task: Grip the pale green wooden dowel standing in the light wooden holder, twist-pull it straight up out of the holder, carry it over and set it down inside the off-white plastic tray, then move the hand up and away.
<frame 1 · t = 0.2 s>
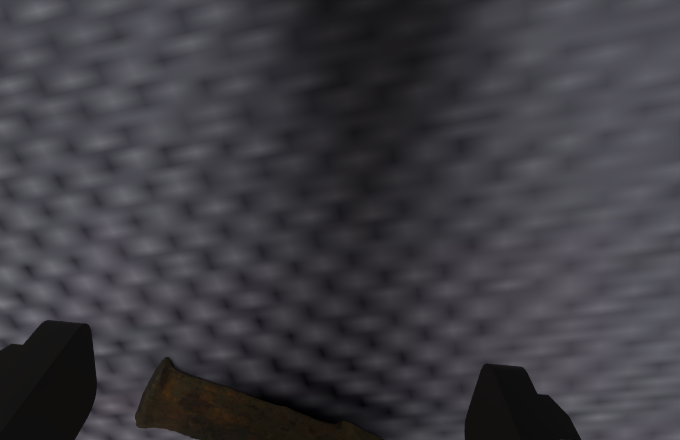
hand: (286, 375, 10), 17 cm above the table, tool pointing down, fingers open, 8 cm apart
hand tool: (288, 403, 36), on the table
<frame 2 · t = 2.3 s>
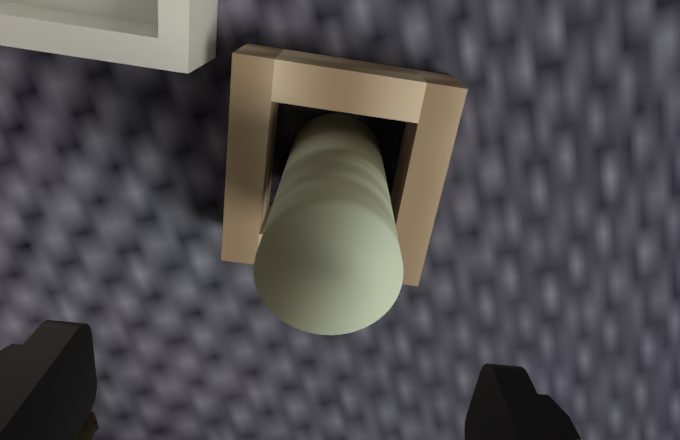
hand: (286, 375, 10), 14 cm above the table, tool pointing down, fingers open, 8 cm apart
dowel: (336, 157, 23), resting in holder
holder: (336, 157, 22), on the table
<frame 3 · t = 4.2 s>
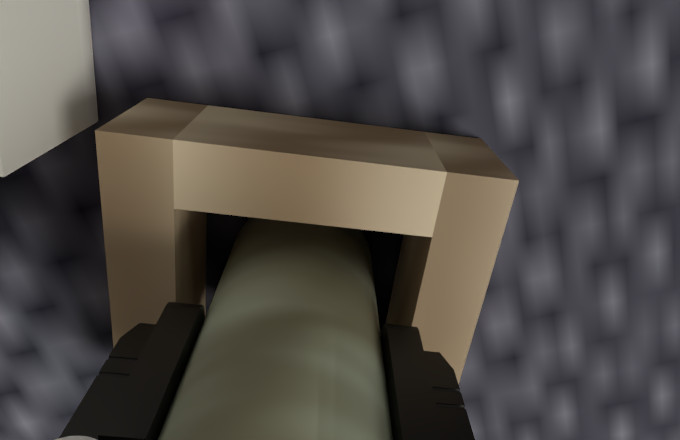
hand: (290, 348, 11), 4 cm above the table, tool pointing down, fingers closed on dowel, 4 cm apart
dowel: (302, 262, 15), resting in holder, touching gripper
holder: (302, 262, 15), on the table
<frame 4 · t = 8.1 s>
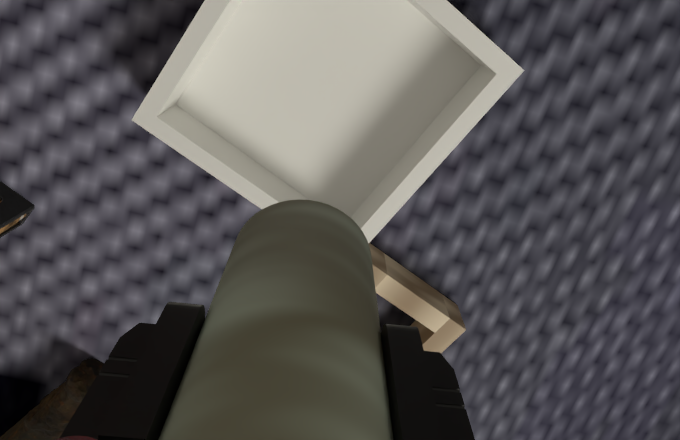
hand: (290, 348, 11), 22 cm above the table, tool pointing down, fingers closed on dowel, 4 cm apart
dowel: (302, 263, 15), point 19 cm above the table, touching gripper
hand tool: (46, 422, 43), on the table
holder: (375, 313, 37), on the table
tray: (325, 83, 31), on the table
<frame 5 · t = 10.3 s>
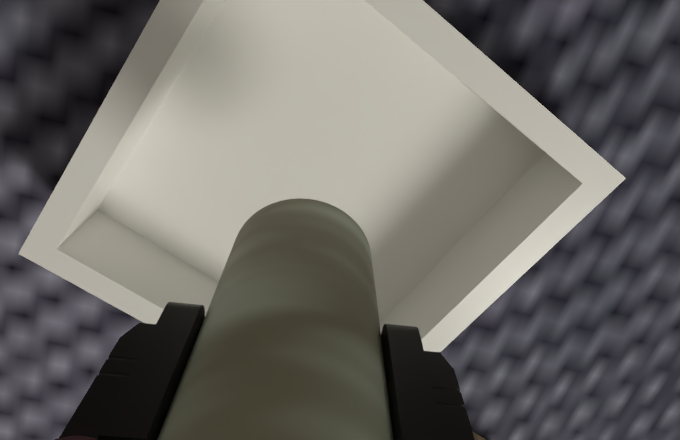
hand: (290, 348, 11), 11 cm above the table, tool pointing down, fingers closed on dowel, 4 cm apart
dowel: (302, 262, 15), point 7 cm above the table, touching gripper
tray: (316, 176, 21), on the table
when the fingers open (6 cm above the table, at t = 12.1 s): dowel drops 1 cm, resting on tray.
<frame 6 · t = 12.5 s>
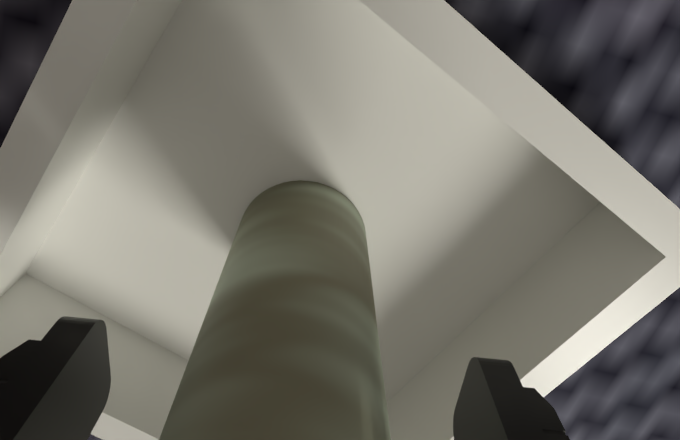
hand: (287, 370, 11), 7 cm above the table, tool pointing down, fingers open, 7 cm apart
dowel: (302, 239, 16), point 1 cm above the table, touching tray
tray: (305, 230, 16), on the table
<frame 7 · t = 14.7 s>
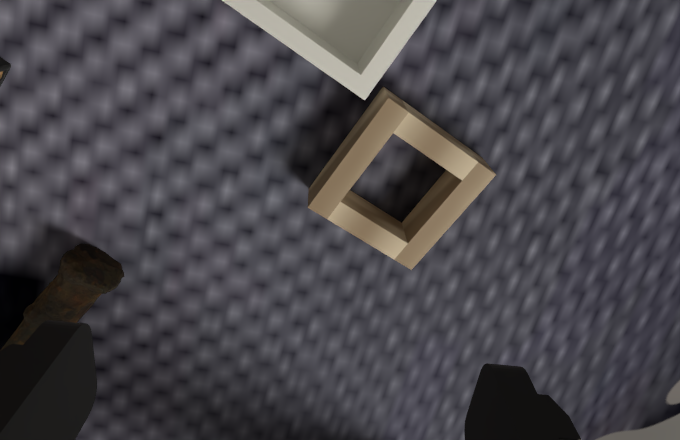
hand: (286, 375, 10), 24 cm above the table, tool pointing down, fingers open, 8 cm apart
hand tool: (51, 326, 40), on the table
holder: (394, 173, 35), on the table
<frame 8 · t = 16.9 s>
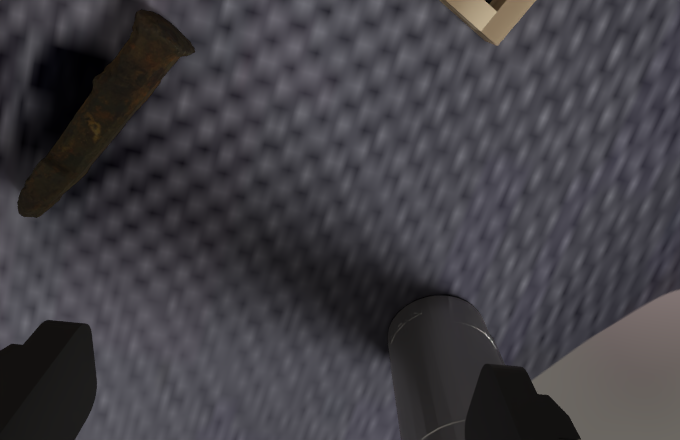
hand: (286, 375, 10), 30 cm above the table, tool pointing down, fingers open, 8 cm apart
hand tool: (114, 123, 39), on the table
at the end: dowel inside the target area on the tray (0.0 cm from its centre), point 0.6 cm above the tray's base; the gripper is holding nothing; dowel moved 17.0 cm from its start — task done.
